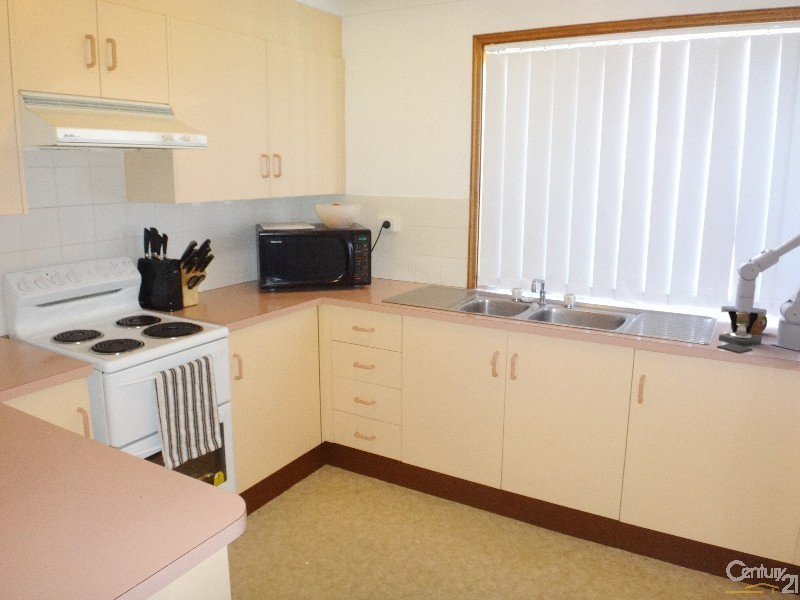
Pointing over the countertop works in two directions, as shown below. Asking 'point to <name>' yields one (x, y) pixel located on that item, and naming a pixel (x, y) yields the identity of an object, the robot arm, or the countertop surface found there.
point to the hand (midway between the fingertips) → (740, 332)
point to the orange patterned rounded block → (758, 324)
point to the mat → (734, 348)
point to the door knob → (741, 332)
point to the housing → (740, 340)
